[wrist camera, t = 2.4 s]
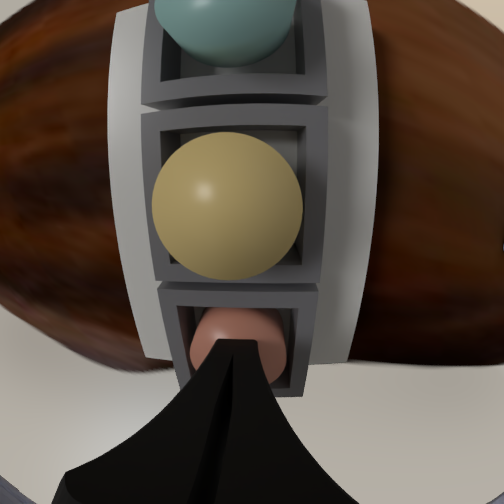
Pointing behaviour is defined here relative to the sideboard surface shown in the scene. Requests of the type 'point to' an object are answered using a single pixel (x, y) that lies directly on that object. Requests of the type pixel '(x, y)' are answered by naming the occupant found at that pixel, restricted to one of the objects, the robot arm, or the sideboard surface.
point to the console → (279, 138)
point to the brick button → (243, 335)
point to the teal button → (227, 28)
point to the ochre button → (227, 206)
